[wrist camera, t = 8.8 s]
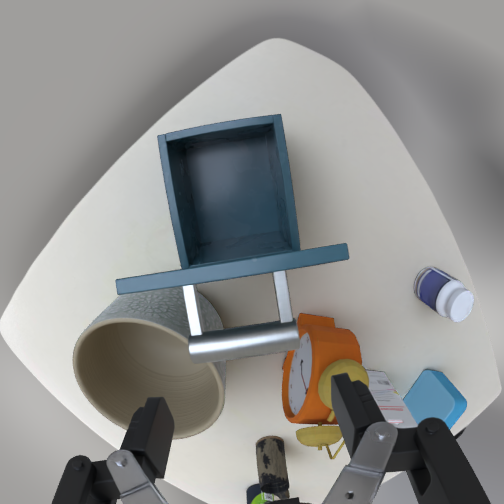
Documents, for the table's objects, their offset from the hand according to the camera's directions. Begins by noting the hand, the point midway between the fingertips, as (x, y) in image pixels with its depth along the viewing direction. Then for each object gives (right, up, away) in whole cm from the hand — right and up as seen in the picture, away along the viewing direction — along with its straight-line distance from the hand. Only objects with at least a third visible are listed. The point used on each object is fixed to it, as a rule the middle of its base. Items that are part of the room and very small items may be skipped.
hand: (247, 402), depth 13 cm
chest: (-2, +15, +25) cm, 29 cm away
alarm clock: (+8, -7, +31) cm, 33 cm away
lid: (-1, +6, +8) cm, 10 cm away
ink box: (+19, -15, +33) cm, 41 cm away
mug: (+4, -31, +37) cm, 48 cm away
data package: (+33, -21, +35) cm, 52 cm away
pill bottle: (+28, +2, +29) cm, 41 cm away
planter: (-11, -3, +29) cm, 32 cm away
